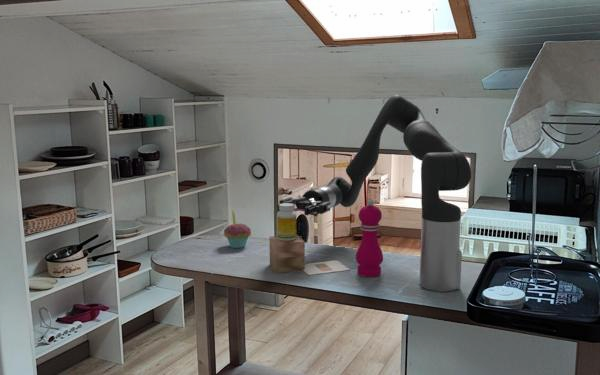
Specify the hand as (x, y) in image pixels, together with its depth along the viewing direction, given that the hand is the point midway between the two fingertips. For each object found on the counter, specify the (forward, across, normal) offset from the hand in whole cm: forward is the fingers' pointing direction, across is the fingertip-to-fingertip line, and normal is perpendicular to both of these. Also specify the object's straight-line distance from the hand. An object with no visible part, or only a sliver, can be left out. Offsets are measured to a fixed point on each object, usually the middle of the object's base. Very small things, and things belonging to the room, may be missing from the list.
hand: (292, 210), depth 154 cm
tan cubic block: (+3, 0, +16) cm, 16 cm away
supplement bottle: (+3, 0, +8) cm, 8 cm away
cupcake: (-8, -25, +16) cm, 30 cm away
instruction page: (-1, +9, +16) cm, 18 cm away
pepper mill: (-2, +22, +16) cm, 27 cm away
